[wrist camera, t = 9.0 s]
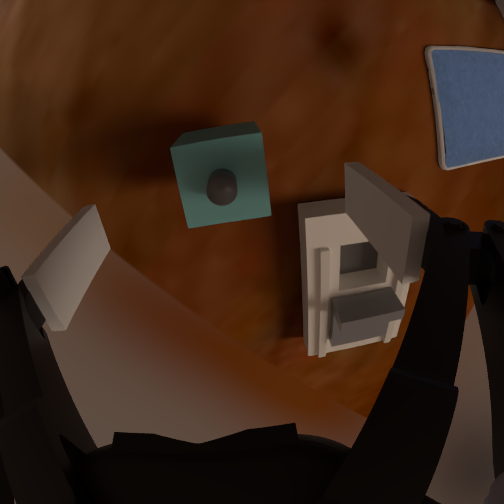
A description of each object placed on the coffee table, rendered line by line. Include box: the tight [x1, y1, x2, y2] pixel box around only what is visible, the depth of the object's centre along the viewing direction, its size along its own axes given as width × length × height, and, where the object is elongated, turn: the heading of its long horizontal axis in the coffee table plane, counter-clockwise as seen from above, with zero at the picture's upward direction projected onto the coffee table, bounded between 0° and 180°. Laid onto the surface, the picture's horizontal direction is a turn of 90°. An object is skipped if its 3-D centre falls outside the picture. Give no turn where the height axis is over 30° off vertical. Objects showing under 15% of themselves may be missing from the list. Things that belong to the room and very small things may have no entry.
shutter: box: [329, 287, 405, 347], centre depth 28 cm, size 6×6×3 cm
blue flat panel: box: [425, 46, 504, 170], centre depth 21 cm, size 19×13×1 cm, turn 106°
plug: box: [170, 121, 271, 228], centre depth 20 cm, size 5×5×10 cm
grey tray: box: [298, 192, 416, 357], centre depth 29 cm, size 17×11×4 cm, turn 7°
